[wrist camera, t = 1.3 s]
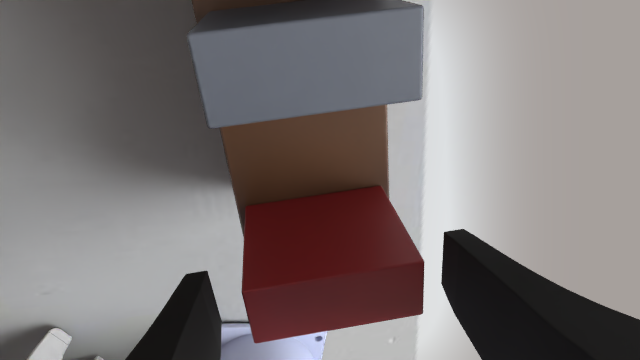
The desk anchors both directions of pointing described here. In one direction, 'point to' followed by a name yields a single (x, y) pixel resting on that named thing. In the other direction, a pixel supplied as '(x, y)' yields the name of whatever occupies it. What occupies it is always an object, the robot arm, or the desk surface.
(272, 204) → the red book
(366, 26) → the grey books
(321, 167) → the wood grain box
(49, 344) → the tablet stand
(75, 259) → the desk surface
